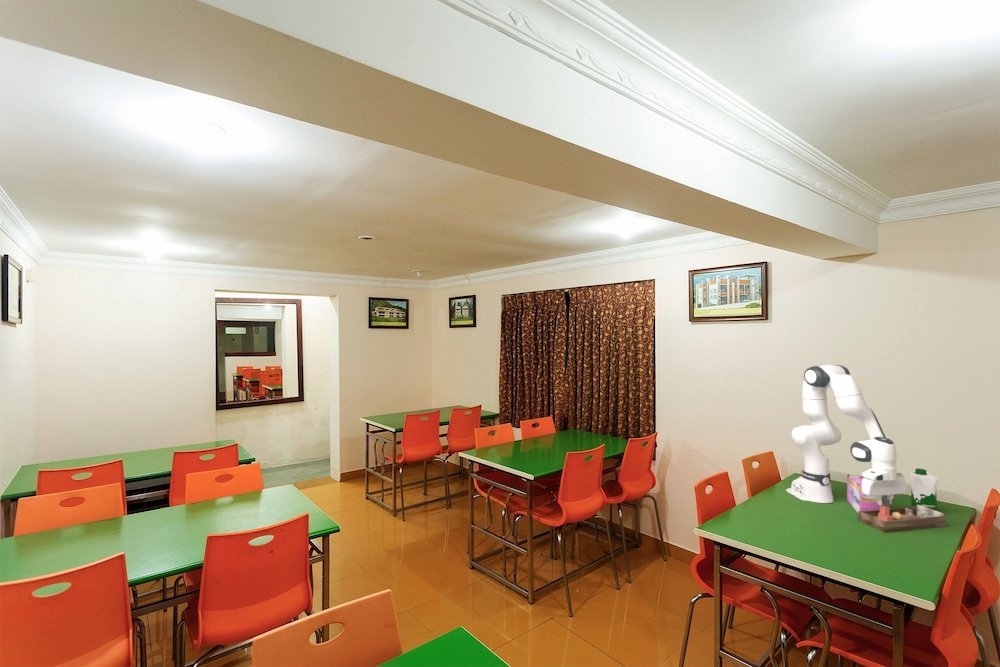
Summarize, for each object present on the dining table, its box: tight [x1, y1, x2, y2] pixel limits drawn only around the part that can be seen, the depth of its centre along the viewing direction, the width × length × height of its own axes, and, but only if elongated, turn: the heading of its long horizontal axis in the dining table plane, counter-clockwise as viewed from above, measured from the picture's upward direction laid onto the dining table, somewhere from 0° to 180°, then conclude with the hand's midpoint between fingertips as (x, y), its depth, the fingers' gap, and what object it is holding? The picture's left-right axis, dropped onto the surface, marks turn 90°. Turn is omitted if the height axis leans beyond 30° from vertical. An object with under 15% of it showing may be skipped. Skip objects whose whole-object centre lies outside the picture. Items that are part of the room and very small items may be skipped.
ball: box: [892, 512, 902, 520], centre depth 217 cm, size 4×4×4 cm
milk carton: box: [909, 468, 939, 511], centre depth 230 cm, size 9×9×20 cm
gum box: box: [846, 474, 880, 513], centre depth 237 cm, size 24×8×14 cm, turn 158°
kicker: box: [878, 497, 891, 521], centre depth 216 cm, size 4×2×10 cm, turn 9°
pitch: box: [857, 505, 947, 533], centre depth 217 cm, size 13×32×6 cm, turn 99°
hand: (884, 504), depth 216 cm, fingers open, 3 cm apart
